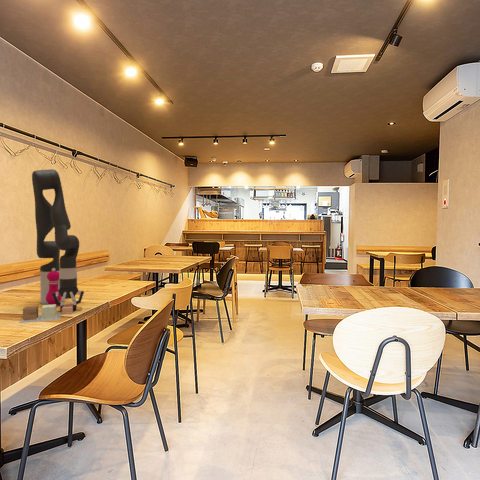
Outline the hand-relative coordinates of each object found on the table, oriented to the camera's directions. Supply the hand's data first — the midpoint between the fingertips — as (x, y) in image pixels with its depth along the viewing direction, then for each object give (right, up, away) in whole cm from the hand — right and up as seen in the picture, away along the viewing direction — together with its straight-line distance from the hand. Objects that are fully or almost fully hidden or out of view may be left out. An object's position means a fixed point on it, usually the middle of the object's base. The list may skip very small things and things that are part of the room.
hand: (68, 312), depth 161 cm
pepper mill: (-14, 0, +13) cm, 19 cm away
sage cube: (-3, 0, -11) cm, 11 cm away
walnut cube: (-9, 0, -14) cm, 17 cm away
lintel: (0, 0, 0) cm, 0 cm away
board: (-6, -1, -12) cm, 13 cm away
